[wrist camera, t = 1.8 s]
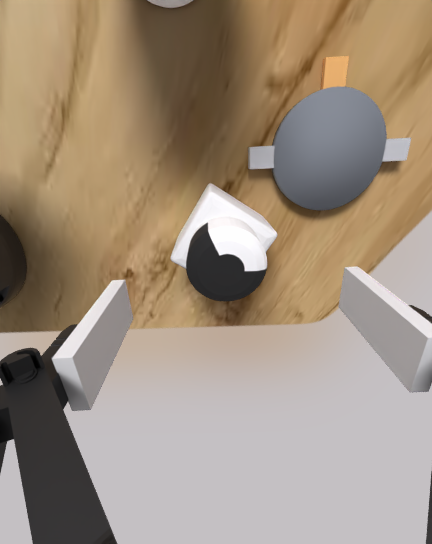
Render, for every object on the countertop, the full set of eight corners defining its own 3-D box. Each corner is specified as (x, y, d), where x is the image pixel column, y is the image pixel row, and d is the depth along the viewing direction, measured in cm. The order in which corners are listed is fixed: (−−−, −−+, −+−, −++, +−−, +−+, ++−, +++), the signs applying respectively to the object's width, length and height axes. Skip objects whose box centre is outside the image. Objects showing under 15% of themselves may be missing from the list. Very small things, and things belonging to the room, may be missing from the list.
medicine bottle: (229, 267, 32) (240, 326, 21) (177, 237, 30) (159, 285, 19) (264, 216, 30) (297, 254, 19) (209, 181, 28) (210, 200, 17)
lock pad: (248, 212, 29) (249, 214, 28) (248, 63, 24) (249, 59, 23) (388, 203, 29) (396, 205, 28) (420, 53, 24) (431, 49, 23)
